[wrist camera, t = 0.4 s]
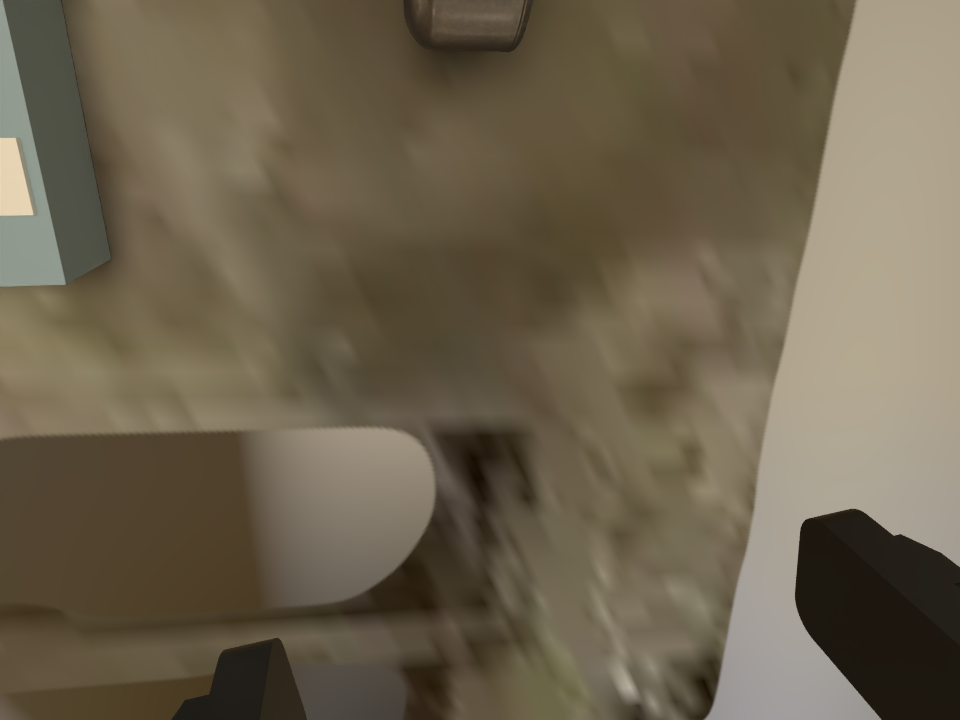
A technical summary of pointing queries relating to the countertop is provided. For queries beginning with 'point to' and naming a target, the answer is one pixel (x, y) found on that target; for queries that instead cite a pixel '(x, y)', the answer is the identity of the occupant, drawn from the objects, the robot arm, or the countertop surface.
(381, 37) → the countertop surface
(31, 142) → the switch box
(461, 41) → the alarm clock
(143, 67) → the countertop surface
